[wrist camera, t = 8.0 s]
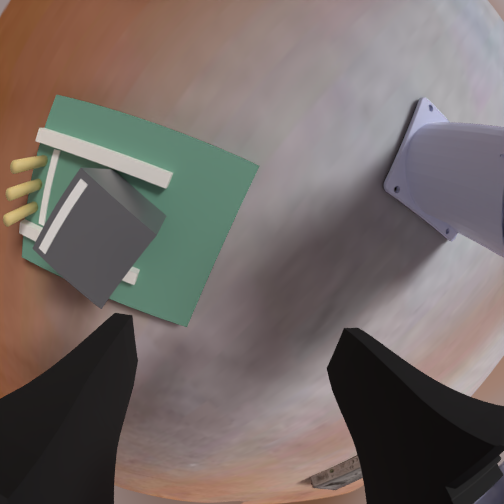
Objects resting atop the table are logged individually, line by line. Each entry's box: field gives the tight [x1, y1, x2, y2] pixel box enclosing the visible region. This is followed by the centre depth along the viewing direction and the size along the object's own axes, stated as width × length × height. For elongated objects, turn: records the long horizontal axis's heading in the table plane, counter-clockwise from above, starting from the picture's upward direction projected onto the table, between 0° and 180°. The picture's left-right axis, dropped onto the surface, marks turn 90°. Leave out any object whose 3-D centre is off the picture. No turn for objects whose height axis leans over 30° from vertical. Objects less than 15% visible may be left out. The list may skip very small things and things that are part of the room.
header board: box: [3, 95, 259, 327], centre depth 13 cm, size 13×11×4 cm
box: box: [311, 455, 363, 490], centre depth 35 cm, size 11×17×3 cm, turn 127°
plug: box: [32, 168, 166, 309], centre depth 11 cm, size 4×4×5 cm
